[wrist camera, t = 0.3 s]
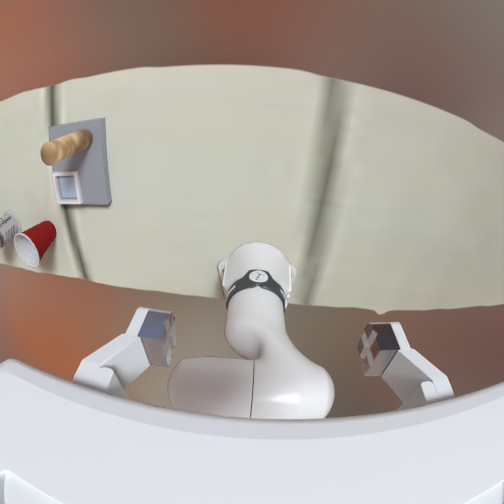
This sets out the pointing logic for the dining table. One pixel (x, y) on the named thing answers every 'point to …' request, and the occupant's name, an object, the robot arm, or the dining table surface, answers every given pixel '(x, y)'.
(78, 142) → the oak column
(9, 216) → the french press
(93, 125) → the board
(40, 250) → the plastic cup
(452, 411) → the robot arm
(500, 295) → the dining table surface
